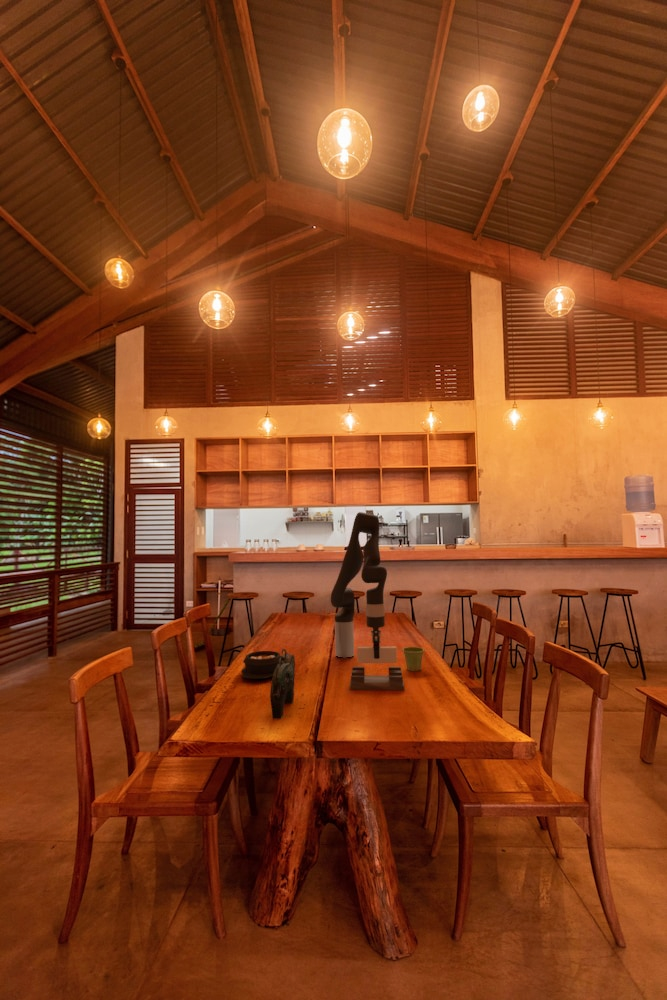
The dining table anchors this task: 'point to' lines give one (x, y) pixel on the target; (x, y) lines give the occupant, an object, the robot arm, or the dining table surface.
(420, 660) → the plant pot
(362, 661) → the clay strip
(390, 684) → the dark grey holder
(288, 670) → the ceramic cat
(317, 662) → the dining table surface
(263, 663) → the casserole
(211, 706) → the dining table surface
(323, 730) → the dining table surface
